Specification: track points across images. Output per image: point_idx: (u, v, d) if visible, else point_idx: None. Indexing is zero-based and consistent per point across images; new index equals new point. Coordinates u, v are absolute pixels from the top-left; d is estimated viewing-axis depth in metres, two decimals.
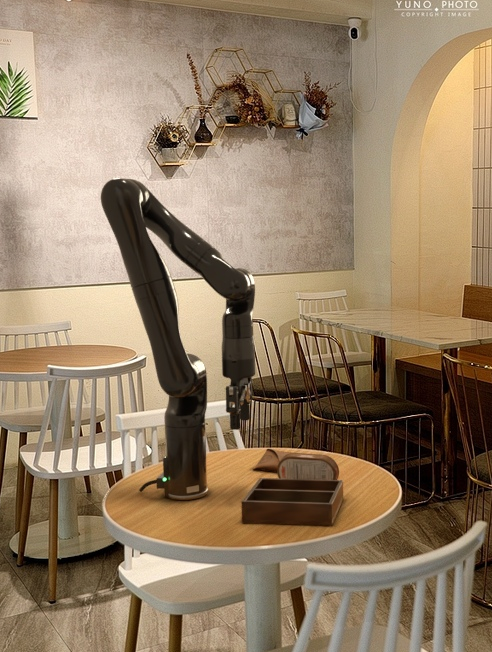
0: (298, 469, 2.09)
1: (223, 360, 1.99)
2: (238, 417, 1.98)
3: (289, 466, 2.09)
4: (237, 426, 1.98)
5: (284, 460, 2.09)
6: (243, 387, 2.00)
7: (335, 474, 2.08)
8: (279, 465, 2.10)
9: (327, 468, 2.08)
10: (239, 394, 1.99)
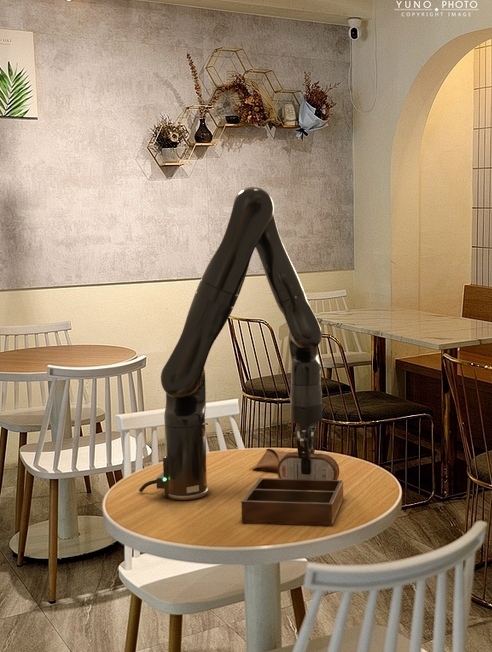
0: (298, 468, 2.09)
1: (292, 406, 2.06)
2: (309, 462, 2.07)
3: (290, 465, 2.10)
4: (308, 471, 2.07)
5: (284, 459, 2.09)
6: (311, 432, 2.07)
7: (335, 473, 2.08)
8: (279, 464, 2.10)
9: (327, 467, 2.08)
10: (308, 439, 2.06)
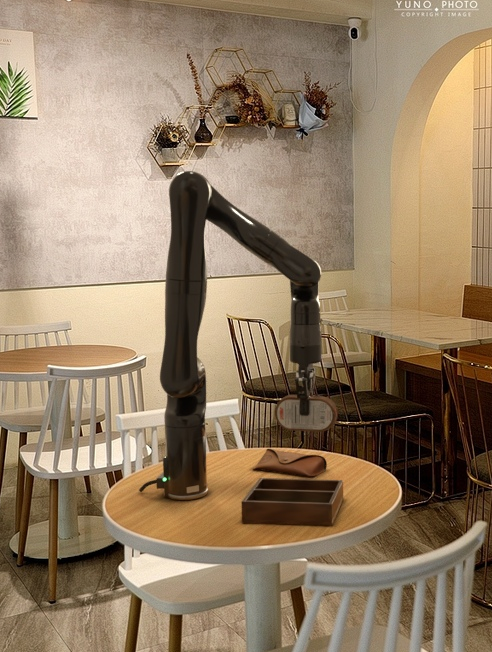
0: (296, 410, 2.07)
1: (291, 346, 2.04)
2: (308, 403, 2.05)
3: (288, 407, 2.07)
4: (306, 412, 2.05)
5: (282, 401, 2.07)
6: (310, 372, 2.04)
7: (334, 415, 2.06)
8: (277, 406, 2.08)
9: (326, 408, 2.06)
10: (306, 379, 2.04)
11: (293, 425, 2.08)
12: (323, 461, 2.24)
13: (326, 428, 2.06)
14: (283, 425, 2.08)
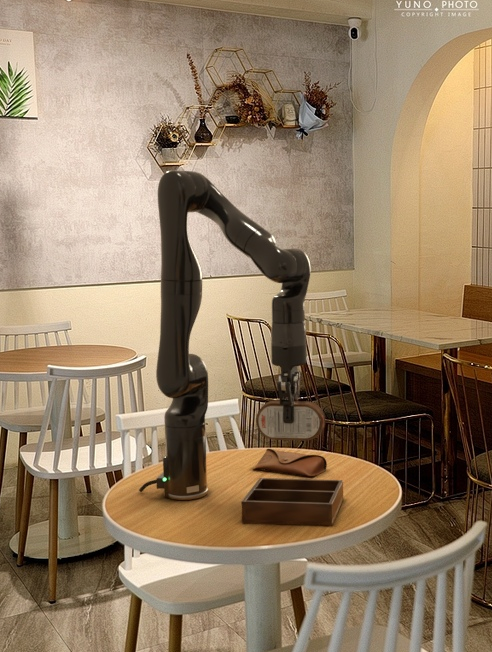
0: (280, 417, 1.88)
1: (273, 347, 1.85)
2: (292, 410, 1.87)
3: (270, 414, 1.89)
4: (291, 420, 1.87)
5: (264, 408, 1.88)
6: (294, 376, 1.86)
7: (322, 422, 1.88)
8: (259, 414, 1.89)
9: (313, 415, 1.88)
10: (290, 383, 1.85)
11: (276, 434, 1.89)
12: (323, 461, 2.24)
13: (313, 436, 1.88)
14: (265, 434, 1.89)
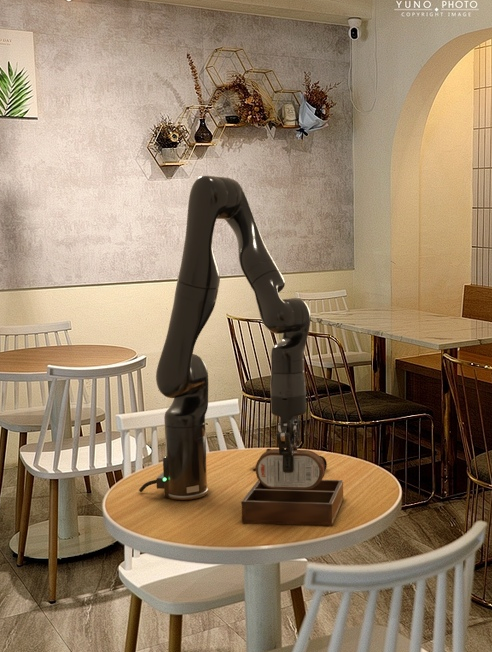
0: (279, 466, 1.88)
1: (272, 397, 1.85)
2: (291, 459, 1.87)
3: (270, 463, 1.89)
4: (290, 469, 1.87)
5: (264, 457, 1.88)
6: (294, 426, 1.86)
7: (321, 471, 1.88)
8: (258, 463, 1.89)
9: (312, 464, 1.88)
10: (290, 433, 1.85)
11: (276, 483, 1.89)
12: (323, 461, 2.24)
13: (313, 485, 1.88)
14: (265, 483, 1.89)
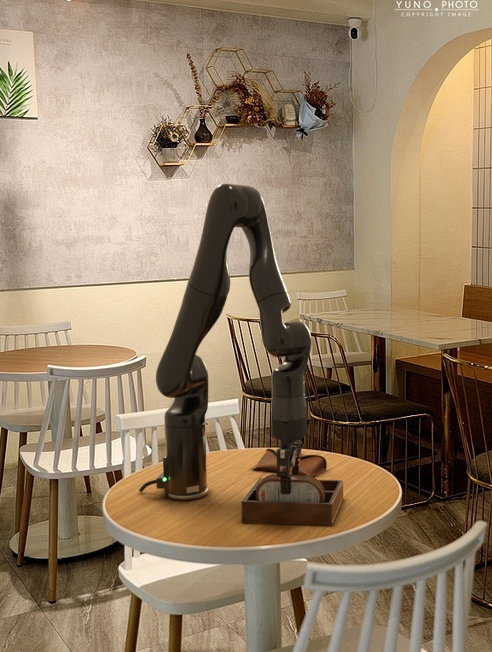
0: (280, 492, 1.89)
1: (273, 420, 1.86)
2: (289, 481, 1.85)
3: (270, 489, 1.89)
4: (288, 491, 1.85)
5: (264, 483, 1.89)
6: (294, 448, 1.87)
7: (322, 497, 1.88)
8: (258, 489, 1.89)
9: (313, 490, 1.88)
10: (290, 456, 1.86)
11: None
12: (323, 461, 2.24)
13: None
14: None
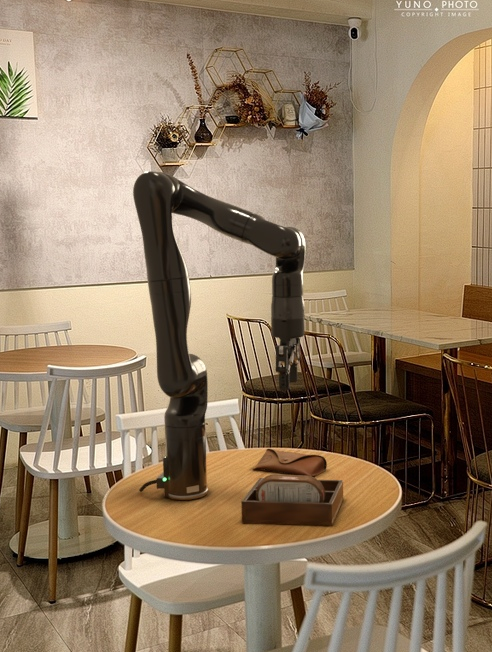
0: (280, 492, 1.89)
1: (272, 319, 1.96)
2: (287, 377, 1.95)
3: (270, 489, 1.89)
4: (286, 386, 1.95)
5: (264, 483, 1.89)
6: (292, 347, 1.96)
7: (322, 497, 1.88)
8: (258, 489, 1.89)
9: (313, 490, 1.88)
10: (288, 354, 1.96)
11: None
12: (323, 461, 2.24)
13: None
14: None
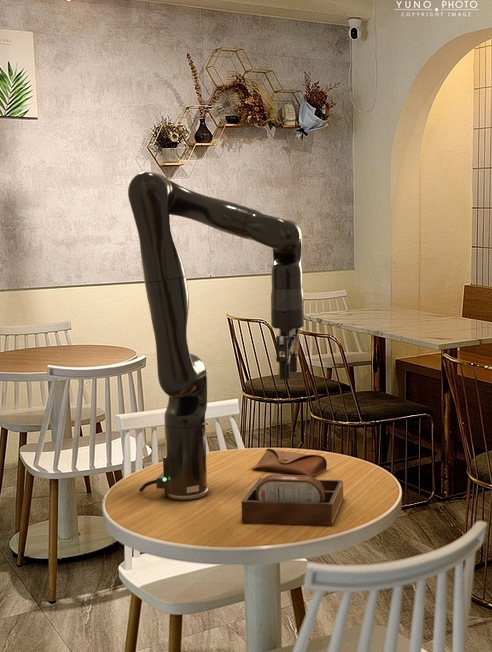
0: (280, 492, 1.89)
1: (272, 311, 2.00)
2: (288, 367, 1.99)
3: (270, 489, 1.89)
4: (287, 376, 1.99)
5: (264, 483, 1.89)
6: (292, 338, 2.01)
7: (322, 497, 1.88)
8: (258, 489, 1.89)
9: (313, 490, 1.88)
10: (288, 344, 2.00)
11: None
12: (323, 461, 2.24)
13: None
14: None
